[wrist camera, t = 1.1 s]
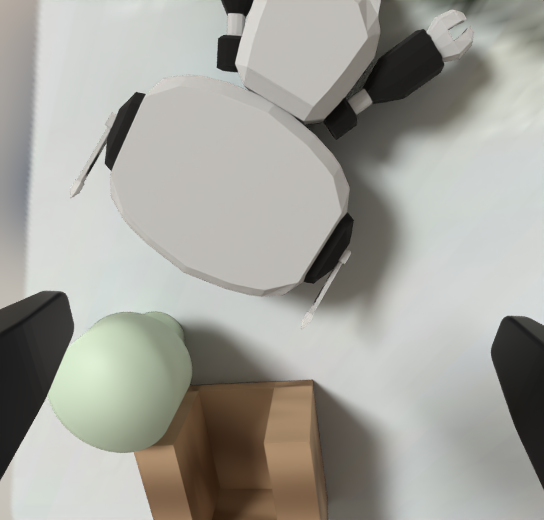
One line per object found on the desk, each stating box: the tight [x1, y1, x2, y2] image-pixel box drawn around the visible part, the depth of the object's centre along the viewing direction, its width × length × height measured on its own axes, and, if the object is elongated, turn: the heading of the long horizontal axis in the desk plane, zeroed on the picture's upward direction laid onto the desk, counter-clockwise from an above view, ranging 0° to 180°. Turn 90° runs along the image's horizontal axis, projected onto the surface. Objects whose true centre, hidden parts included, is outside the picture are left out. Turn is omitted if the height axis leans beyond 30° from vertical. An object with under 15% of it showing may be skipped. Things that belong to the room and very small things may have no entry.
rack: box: [134, 380, 328, 520], centre depth 24 cm, size 10×9×5 cm
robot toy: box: [70, 0, 474, 329], centre depth 18 cm, size 12×4×15 cm
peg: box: [48, 312, 192, 453], centre depth 22 cm, size 6×6×6 cm
